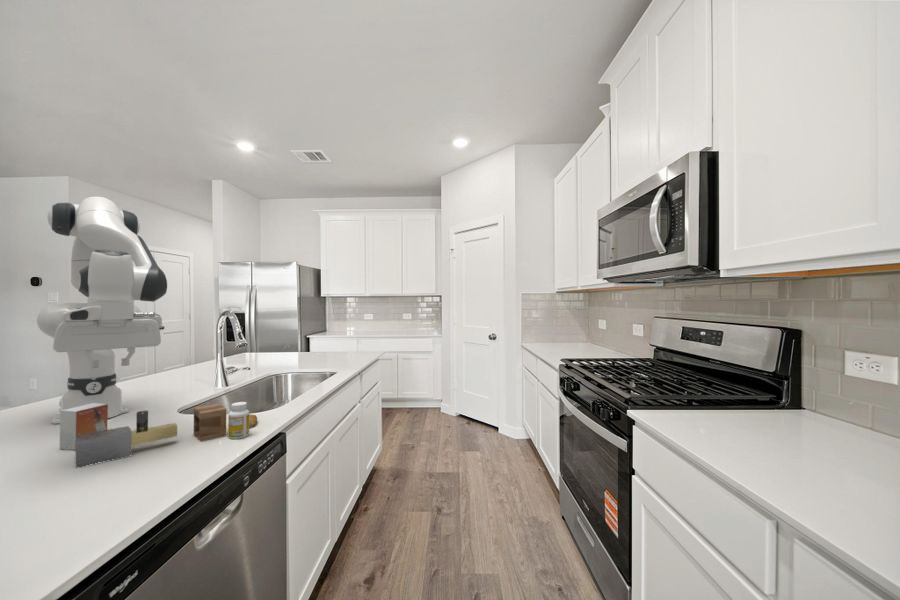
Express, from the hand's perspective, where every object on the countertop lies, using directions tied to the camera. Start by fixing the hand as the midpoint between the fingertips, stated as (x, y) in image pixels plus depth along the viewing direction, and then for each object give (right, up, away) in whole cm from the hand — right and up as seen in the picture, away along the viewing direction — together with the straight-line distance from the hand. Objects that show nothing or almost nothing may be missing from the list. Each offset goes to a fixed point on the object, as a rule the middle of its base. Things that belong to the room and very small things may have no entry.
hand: (110, 366), depth 95 cm
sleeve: (-1, -23, -1) cm, 23 cm away
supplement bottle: (+24, -24, +15) cm, 37 cm away
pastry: (+21, -24, +25) cm, 40 cm away
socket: (+15, -23, +16) cm, 32 cm away
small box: (-15, -23, +8) cm, 29 cm away
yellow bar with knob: (+3, -21, +3) cm, 21 cm away
